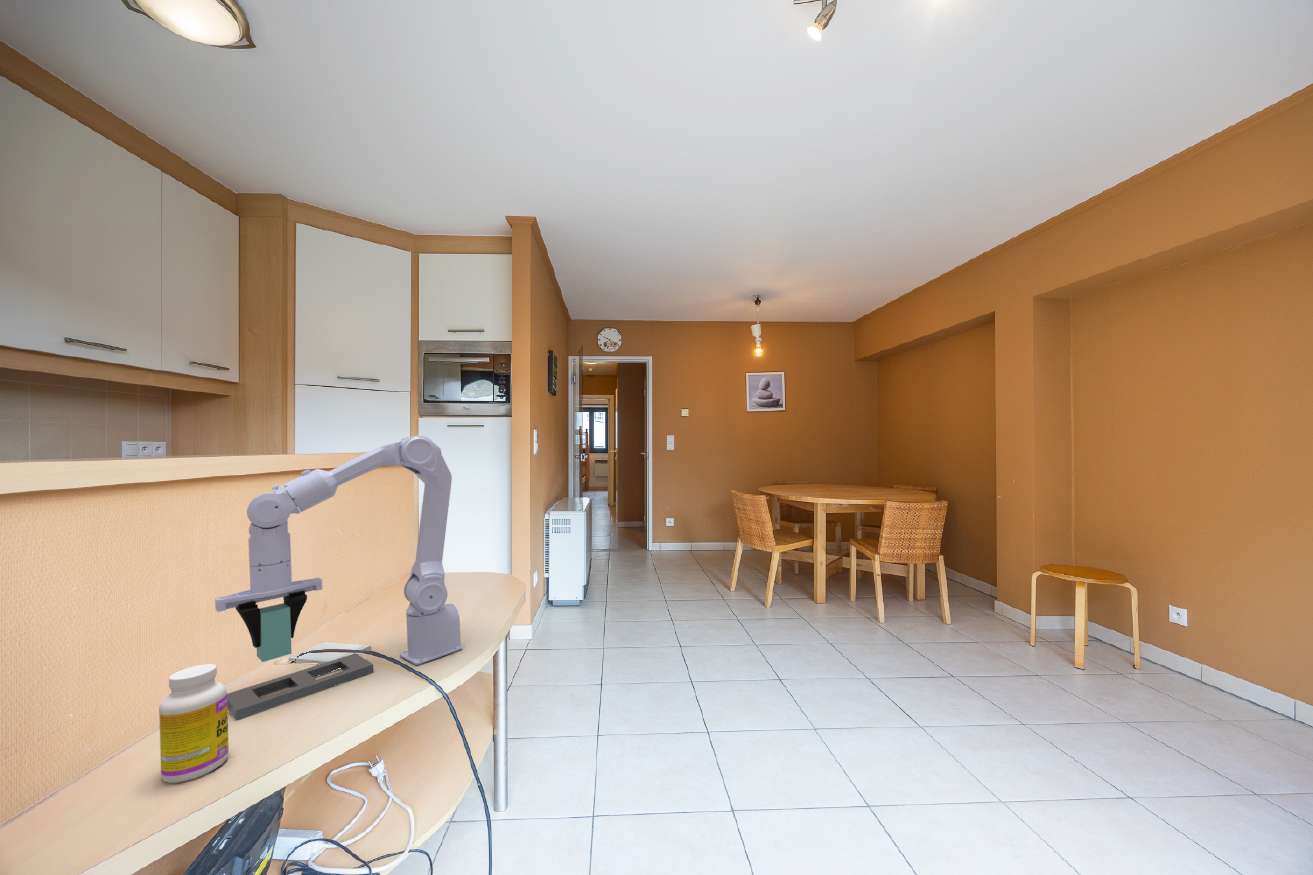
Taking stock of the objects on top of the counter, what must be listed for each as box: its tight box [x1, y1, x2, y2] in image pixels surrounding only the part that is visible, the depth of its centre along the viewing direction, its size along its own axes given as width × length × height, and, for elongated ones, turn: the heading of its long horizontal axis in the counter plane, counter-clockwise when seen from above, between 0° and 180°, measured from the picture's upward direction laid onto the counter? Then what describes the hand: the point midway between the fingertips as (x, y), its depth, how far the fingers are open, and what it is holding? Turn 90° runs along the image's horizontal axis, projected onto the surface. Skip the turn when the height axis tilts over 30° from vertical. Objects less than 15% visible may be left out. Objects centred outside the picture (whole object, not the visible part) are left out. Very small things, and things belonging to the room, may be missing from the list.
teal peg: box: [256, 602, 293, 663], centre depth 86 cm, size 4×4×8 cm
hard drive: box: [288, 641, 373, 664], centre depth 103 cm, size 2×8×12 cm
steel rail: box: [227, 653, 375, 721], centre depth 89 cm, size 20×9×2 cm, turn 140°
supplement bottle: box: [158, 663, 230, 784], centre depth 66 cm, size 7×7×13 cm
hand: (273, 641), depth 86 cm, fingers closed on teal peg, 4 cm apart
